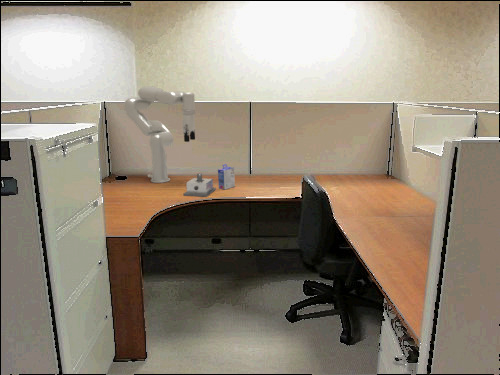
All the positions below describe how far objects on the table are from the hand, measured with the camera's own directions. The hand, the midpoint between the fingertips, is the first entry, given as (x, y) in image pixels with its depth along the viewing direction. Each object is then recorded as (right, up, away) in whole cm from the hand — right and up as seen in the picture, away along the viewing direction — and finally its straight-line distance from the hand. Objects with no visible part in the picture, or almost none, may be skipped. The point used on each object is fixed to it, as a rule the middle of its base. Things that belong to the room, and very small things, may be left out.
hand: (189, 140), depth 273 cm
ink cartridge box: (+23, -29, 0) cm, 37 cm away
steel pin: (+8, -31, -12) cm, 34 cm away
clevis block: (+8, -32, -12) cm, 35 cm away
